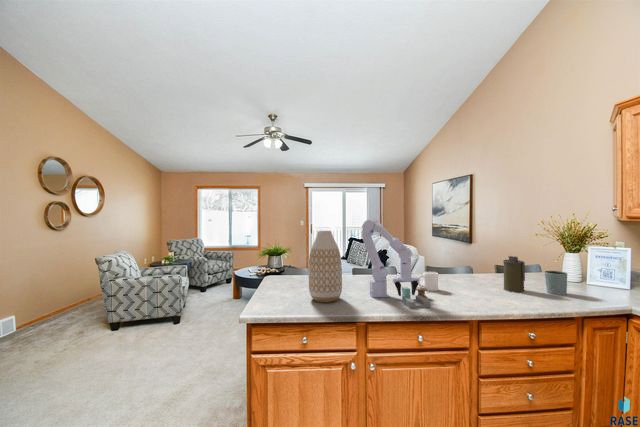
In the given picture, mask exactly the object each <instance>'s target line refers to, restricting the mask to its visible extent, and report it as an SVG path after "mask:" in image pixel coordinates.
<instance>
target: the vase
mask: <svg viewBox="0 0 640 427" xmlns="http://www.w3.org/2000/svg"><path fill="white" fill-rule="evenodd" d="M315 236H316V237H315V238H314V240H313V242H312V245H311V248H310V251H309V257H308V258H309V259H308V291H309V295H310V296H311V298H312V299H313V300H314V301H316V302H317V303H325V302H326V303H331V302H332V303H333V302H335V301H337V300H339V298H340V297H341V296H342V291H343V276H342V275H343V271H342V270H343V268H342V257H341V253H340V249H339V246H338V243H337V242H336V240H335V237H334V235H333V233H332V230H318V231H317V233H316V235H315Z"/></svg>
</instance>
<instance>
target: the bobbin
mask: <svg viewBox="0 0 640 427" xmlns="http://www.w3.org/2000/svg"><path fill="white" fill-rule="evenodd" d="M416 291H417V295H416V296H423V297H424V298H426V299H427V300H428V296H427V295H426V293H425V292H427V288H424V287H421V286H417V288H416Z"/></svg>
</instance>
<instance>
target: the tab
mask: <svg viewBox="0 0 640 427" xmlns="http://www.w3.org/2000/svg"><path fill="white" fill-rule="evenodd" d="M401 296H408V297H409V298H411V288H409V287H408V286H401Z"/></svg>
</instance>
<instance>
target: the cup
mask: <svg viewBox="0 0 640 427" xmlns="http://www.w3.org/2000/svg"><path fill="white" fill-rule="evenodd" d="M417 278H420V279H422V278H423V284H421V281H420V282H418V283H419V284H418V287H423V288H427V291H428V292H438V290H439V273H438V272H436V271H424V272H423V273H422V274H420V275H418V277H417ZM427 291H426V292H427Z"/></svg>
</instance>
